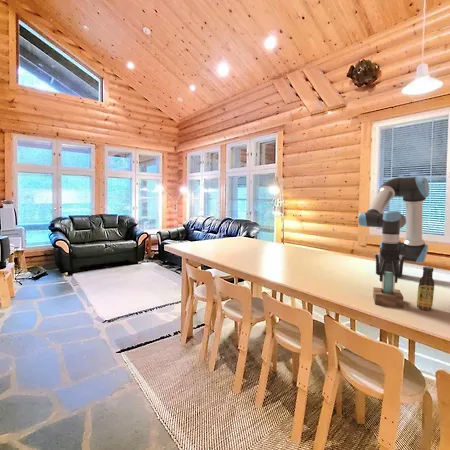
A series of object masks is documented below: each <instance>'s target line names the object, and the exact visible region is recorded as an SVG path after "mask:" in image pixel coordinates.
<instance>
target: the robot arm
mask: <svg viewBox="0 0 450 450" xmlns="http://www.w3.org/2000/svg"><path fill="white" fill-rule="evenodd" d="M429 185H430V184H429V181H428V179H427V178H426V177H424V176H409V177H408V176H407V177H406V176H405V177H404V176H403V177H394V178H392V179H389V180H387V181H386V182H384V183H382V184H381V185H380V186H379V188H378V189H377V194H376V197H375V198H374V199H373V201H372V203H371V204H370V206H369V208H368V209H367V210H366V212H360V213H359V214H358V217H357V222H358V225H359V226H360V227H366V228H367V227H368V228H382V231H381V241H380V245H379V252H378V253H375V254H374V257H375V274H376V275H379V282H380V283H381V288H382V289H384V272H392V273H393V288H392V289H393V290H394V289H396V288H395V285H396V284H397V283H398V278H400V277H402V276H403V271H404V270H403V268H404V262H411V263H419V264H421V263H424V262H425V261H426V258H427V254H428V250H429V245H428V244H426V241H425V240H424V239H423V203H424V201H426V198H428V197H429V196H430V186H429ZM394 198H402V201H403V202H404V203H405V215H404V214H402V212H401V211H399V210H386V208H387V206H388V204H389V202H390V201H391V200H392V199H394ZM404 226H405V238H404V239H403V241H402V242H401V240H400V231H401V230H400V229H401V228H403V227H404Z"/></svg>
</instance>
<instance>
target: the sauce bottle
mask: <svg viewBox="0 0 450 450" xmlns="http://www.w3.org/2000/svg"><path fill="white" fill-rule="evenodd" d="M433 273H434V267H432V266H423V267H422V276H421V277H420V279H419V281H418V287H417V288H418V289H417V297H416V307H417V308H418V309H420V310H422V311H431V310H432V307H433V302H434V293H435V280H434V279H433Z"/></svg>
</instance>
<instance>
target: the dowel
mask: <svg viewBox="0 0 450 450" xmlns="http://www.w3.org/2000/svg"><path fill="white" fill-rule="evenodd" d="M392 288H393V273H392V272H384V289H383V293H385V294H392Z"/></svg>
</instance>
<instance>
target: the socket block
mask: <svg viewBox="0 0 450 450" xmlns="http://www.w3.org/2000/svg"><path fill="white" fill-rule="evenodd" d="M372 289H373V291H372V299H373V302H374V305H377V306H378V305H379V306H387V307H396V308H404V296H403V294H402V292H401V290H400V289H396V288H394V290H393V289H392V294H385V293H383V289H382V287H373V288H372Z"/></svg>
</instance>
